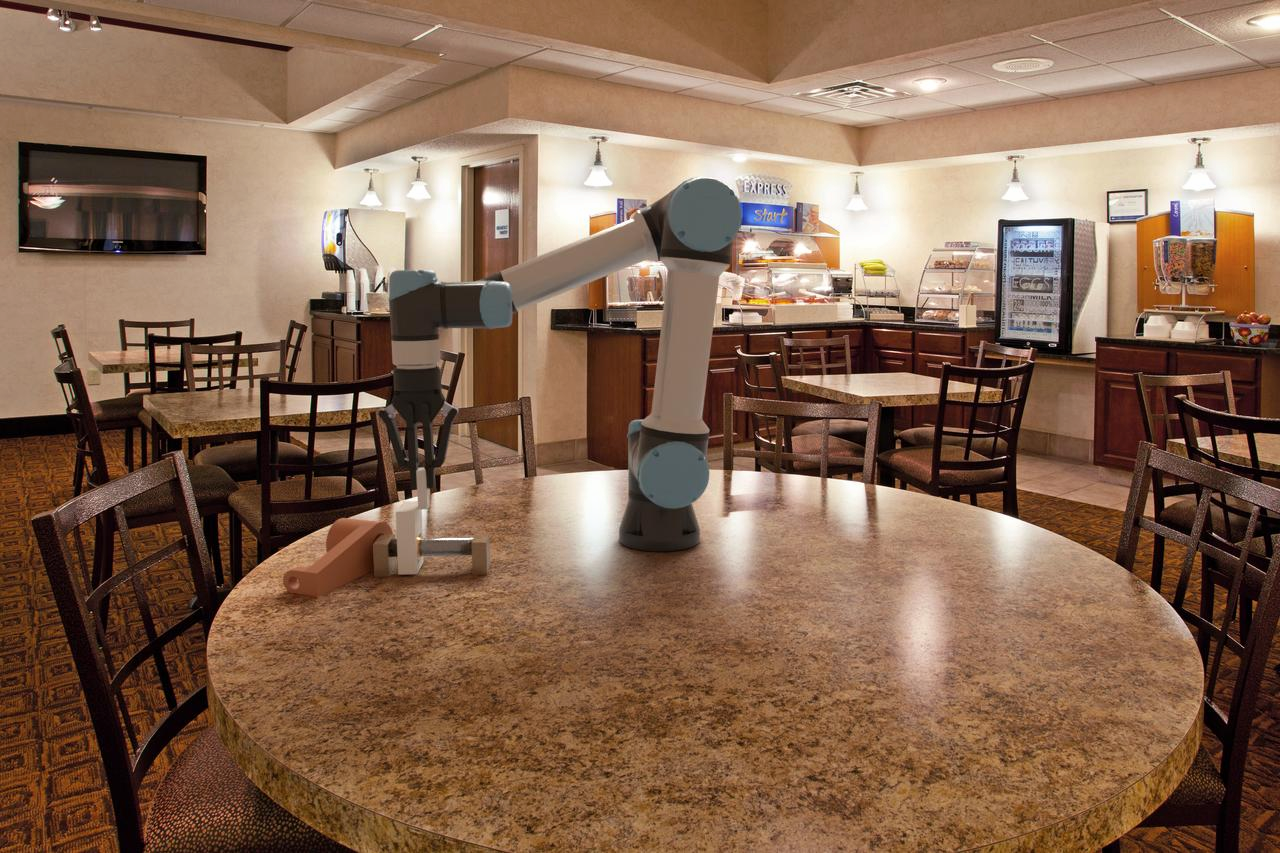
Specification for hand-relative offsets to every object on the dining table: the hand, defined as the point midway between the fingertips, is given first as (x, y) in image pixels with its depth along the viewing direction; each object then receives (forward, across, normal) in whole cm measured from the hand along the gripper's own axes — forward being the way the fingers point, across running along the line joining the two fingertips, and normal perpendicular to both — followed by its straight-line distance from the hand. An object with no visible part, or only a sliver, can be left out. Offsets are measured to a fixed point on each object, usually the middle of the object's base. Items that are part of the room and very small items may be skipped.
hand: (424, 507), depth 155 cm
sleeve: (+11, +3, 0) cm, 11 cm away
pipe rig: (+11, -1, 0) cm, 11 cm away
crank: (+11, +14, +1) cm, 18 cm away
